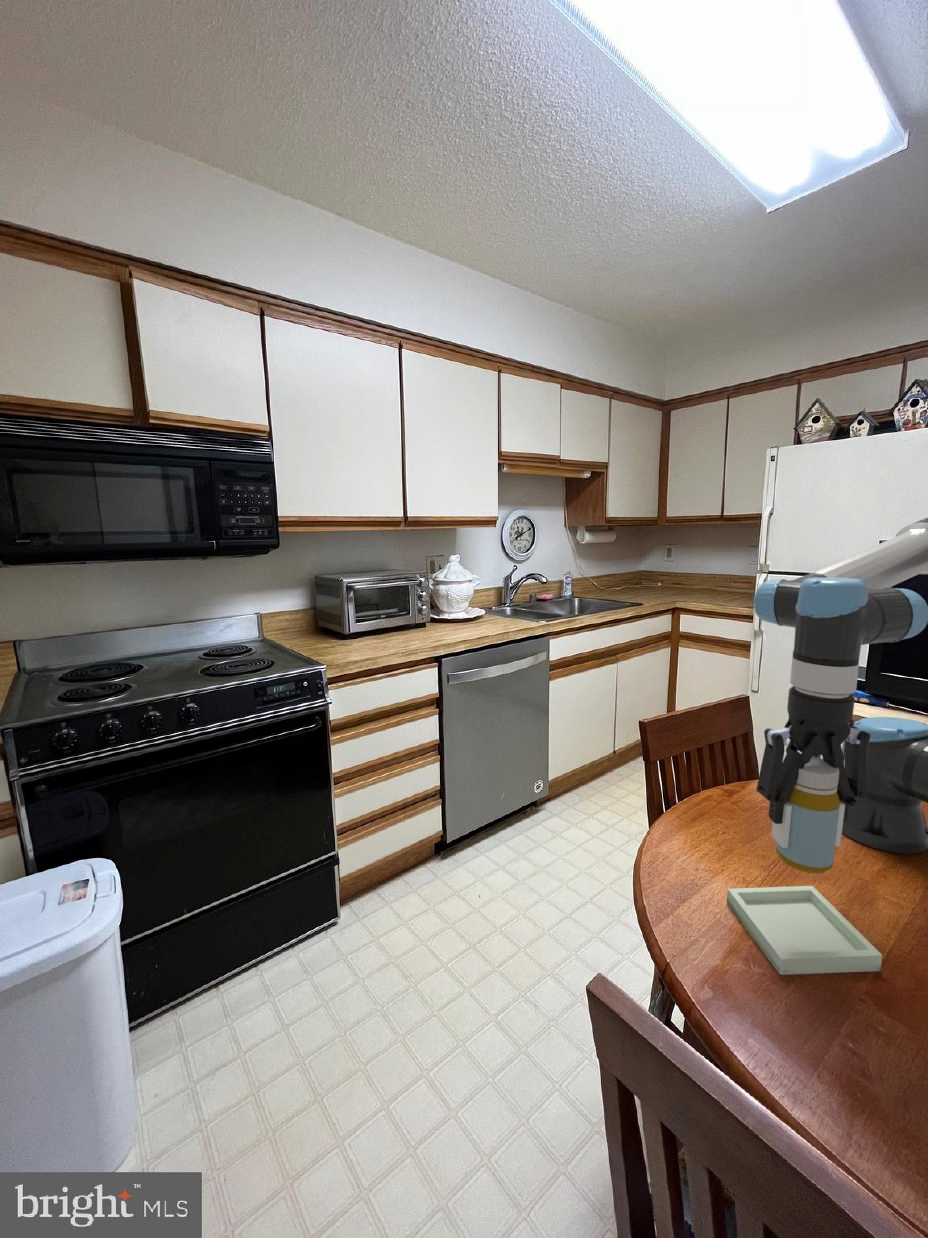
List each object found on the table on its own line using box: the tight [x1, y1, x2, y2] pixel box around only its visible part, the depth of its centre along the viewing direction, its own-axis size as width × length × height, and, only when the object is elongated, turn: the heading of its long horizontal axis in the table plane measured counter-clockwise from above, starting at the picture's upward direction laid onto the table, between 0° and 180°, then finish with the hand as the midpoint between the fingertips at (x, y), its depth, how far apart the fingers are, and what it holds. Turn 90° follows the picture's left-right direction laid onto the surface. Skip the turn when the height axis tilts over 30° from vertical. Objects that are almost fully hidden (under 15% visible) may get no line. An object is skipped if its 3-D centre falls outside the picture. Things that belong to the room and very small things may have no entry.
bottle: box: [775, 756, 840, 874], centre depth 75 cm, size 7×7×15 cm
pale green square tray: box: [726, 885, 883, 976], centre depth 78 cm, size 14×14×2 cm
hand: (805, 841), depth 75 cm, fingers closed on bottle, 7 cm apart
